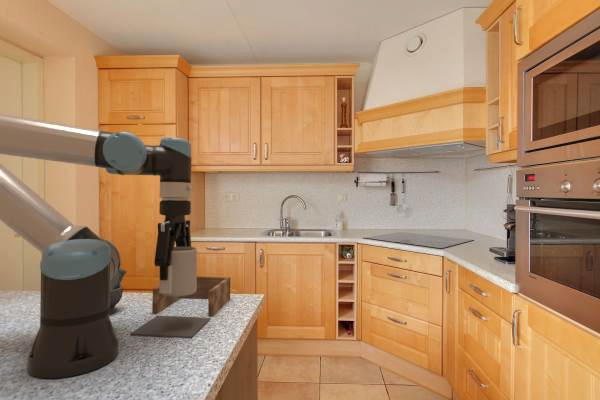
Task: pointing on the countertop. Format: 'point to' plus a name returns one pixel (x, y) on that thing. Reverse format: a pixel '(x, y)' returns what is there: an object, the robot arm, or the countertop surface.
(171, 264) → the mug
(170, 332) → the mat
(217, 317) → the countertop surface
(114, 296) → the mortar and pestle
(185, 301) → the countertop surface
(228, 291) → the open-sided wooden frame
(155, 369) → the countertop surface
